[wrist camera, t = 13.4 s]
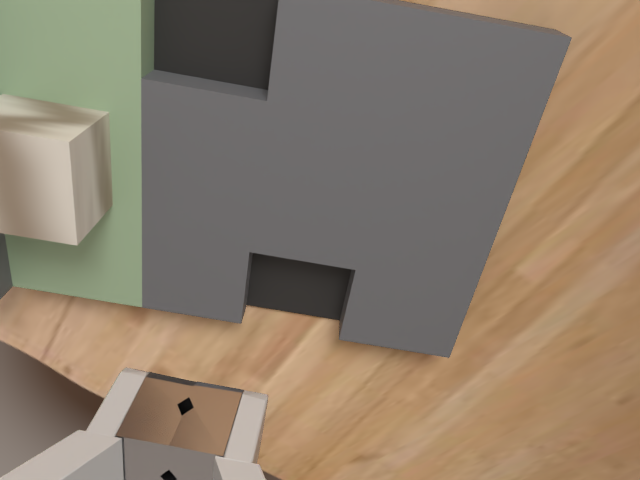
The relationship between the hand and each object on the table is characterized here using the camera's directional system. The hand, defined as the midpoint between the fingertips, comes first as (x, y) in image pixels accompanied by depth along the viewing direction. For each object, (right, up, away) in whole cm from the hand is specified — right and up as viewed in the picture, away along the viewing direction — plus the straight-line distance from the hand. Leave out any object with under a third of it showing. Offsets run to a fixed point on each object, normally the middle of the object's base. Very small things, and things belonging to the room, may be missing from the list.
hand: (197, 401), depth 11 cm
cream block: (-13, +9, +21) cm, 26 cm away
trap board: (-2, +8, +23) cm, 25 cm away
